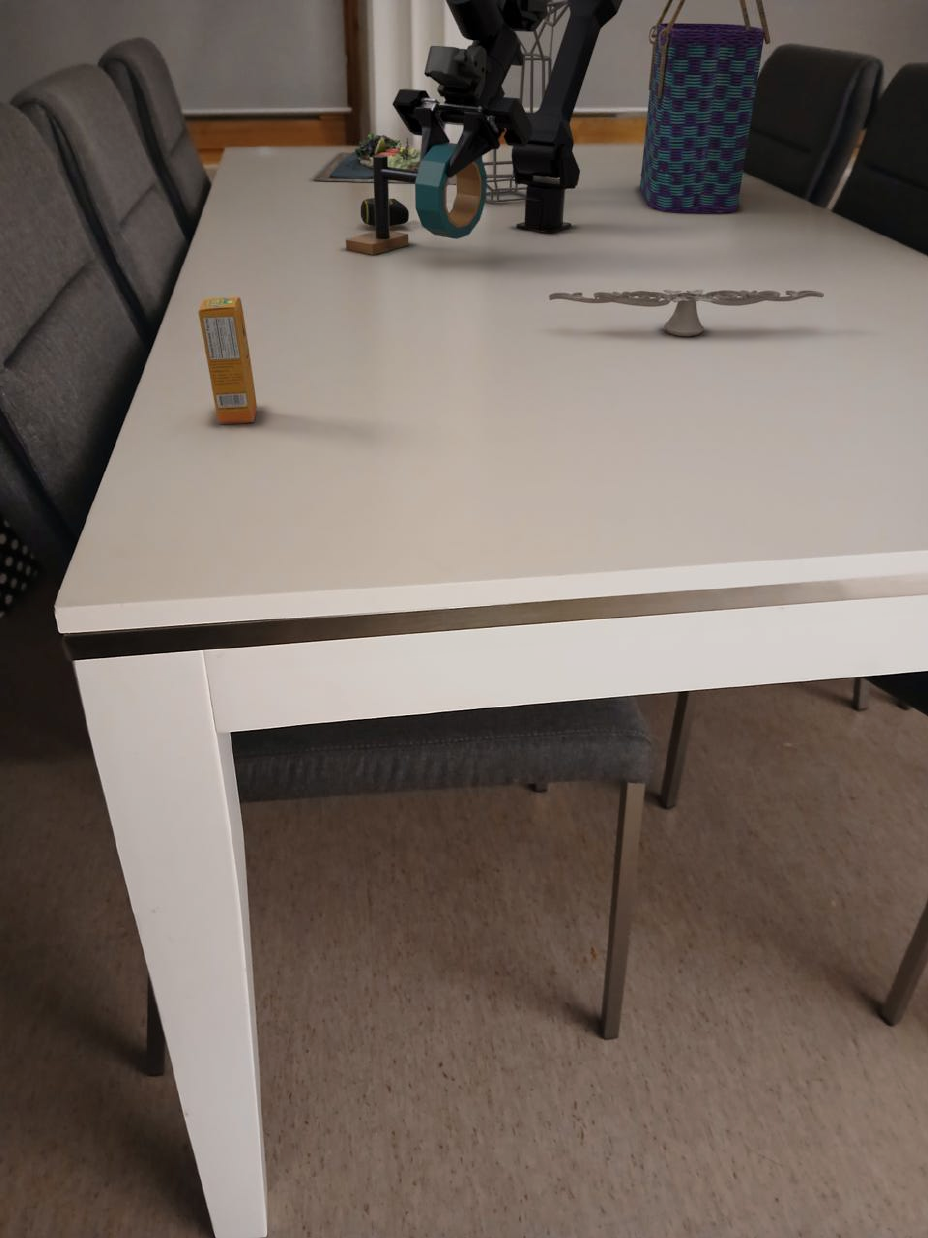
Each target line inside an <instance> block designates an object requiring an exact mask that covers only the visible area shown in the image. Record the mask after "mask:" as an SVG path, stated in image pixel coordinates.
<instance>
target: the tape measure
mask: <svg viewBox="0 0 928 1238" xmlns="http://www.w3.org/2000/svg"><path fill="white" fill-rule="evenodd" d="M409 217H410V212H409V208H408V207H407V206H405V204H403V203H401V202H400V201H399V200H398V199H396V198H389V225H390V227H395V226H400V225H404V224H407V223H408V221H409ZM360 218H361V221H362V222H363V223H364V224H366V225H368V226H370V227H371V226H372V227H373V228H375V203H374V197H371V198H366V199H364V200H362V202H361V205H360Z"/></svg>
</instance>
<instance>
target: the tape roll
mask: <svg viewBox="0 0 928 1238" xmlns="http://www.w3.org/2000/svg"><path fill="white" fill-rule="evenodd" d="M456 145H457V143H455V142H454V143H453V142H449V143H442V144H437V145H434V146H432V148H431V149H430V150H429V152H428V153H427V154H426V155H425V157H424V158H423V159H422V161H421V164H420V167H419V171H418V175H417V178H416V182H415V184H414V195H415V196H414V201H415V202H414V204H415V205H414V207H415V210H416V213H417V216H418V218H419V221H420V225H421V226H422V228H424V229H425V230H426V231H428V232H429V233H431V234H432V235H433V236H436V237H437V236H438V237H443V238H450V239H455V240H458V239H461V238H463V237H467V236H469V235H471V233H472V232H473V230H474V229H475V228H476V227H477V226H478V224H479V222H480V220H481V217H482V215H483V211H484V208H485V204H486V202H487V201H486V198H487V195H486V193H487V192H488V189H487V184H488V183H487V180H488V178H487V175H488V174H487V170H486V166H484V163H483V162H484V161H483V160H484V159H483V156H482V157H480V158H478V159H476V160H475V161H474V162H472V163H471V164H469V165H468V166H467V167H465V168H464V169H463V170H461V171H460V172H458V173H457V174H456V176H457V184H456V194H455V196H454V197H455V198H454V201H453V204H452V208H451V209H450V210H449V209H448V206H447V189H448V185H449V184H448V182H449V177H448V176H447V174H446V169H447V166H448V163H449V160H450V158H451V156H452V154H453V152H454V150H455V147H456Z"/></svg>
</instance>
